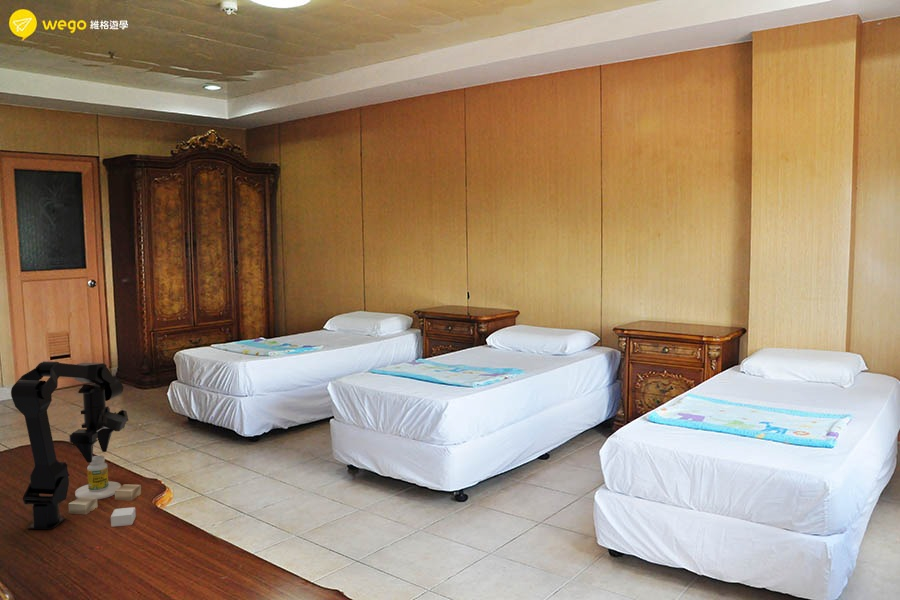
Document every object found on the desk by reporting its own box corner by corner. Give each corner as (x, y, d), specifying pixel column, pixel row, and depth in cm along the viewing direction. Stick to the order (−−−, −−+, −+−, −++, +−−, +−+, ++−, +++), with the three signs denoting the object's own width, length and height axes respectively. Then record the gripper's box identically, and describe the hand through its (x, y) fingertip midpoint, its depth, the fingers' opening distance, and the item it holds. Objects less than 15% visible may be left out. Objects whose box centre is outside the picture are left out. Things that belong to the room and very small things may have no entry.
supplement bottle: (105, 484, 203) (103, 453, 202) (111, 489, 199) (109, 457, 198) (85, 488, 200) (84, 457, 199) (91, 494, 196) (89, 461, 195)
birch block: (85, 515, 184) (85, 504, 184) (68, 514, 185) (68, 503, 184) (97, 508, 189) (97, 497, 189) (81, 506, 190) (80, 496, 189)
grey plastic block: (131, 525, 178) (131, 514, 178) (111, 527, 177) (110, 516, 176) (135, 517, 183) (135, 507, 183) (115, 519, 182) (115, 509, 181)
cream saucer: (109, 500, 194) (109, 496, 194) (67, 500, 194) (66, 496, 193) (127, 484, 206) (127, 481, 206) (87, 484, 205) (87, 481, 205)
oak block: (131, 501, 194) (131, 491, 193) (115, 500, 194) (114, 490, 194) (141, 494, 199) (140, 484, 198) (125, 494, 199) (124, 484, 199)
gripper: (107, 414, 188) (110, 468, 190) (136, 397, 207) (138, 446, 208) (67, 414, 188) (70, 468, 189) (99, 397, 206) (101, 446, 208)
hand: (97, 457), depth 199 cm, fingers open, 9 cm apart
